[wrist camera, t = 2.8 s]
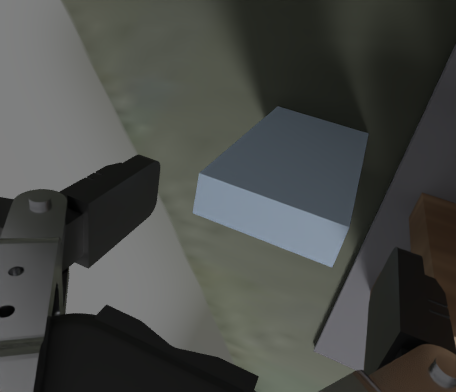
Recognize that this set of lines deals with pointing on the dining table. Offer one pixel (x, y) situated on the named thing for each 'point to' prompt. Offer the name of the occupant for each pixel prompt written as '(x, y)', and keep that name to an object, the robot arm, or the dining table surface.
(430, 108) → the felt strip
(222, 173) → the domino
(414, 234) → the domino
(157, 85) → the dining table surface
